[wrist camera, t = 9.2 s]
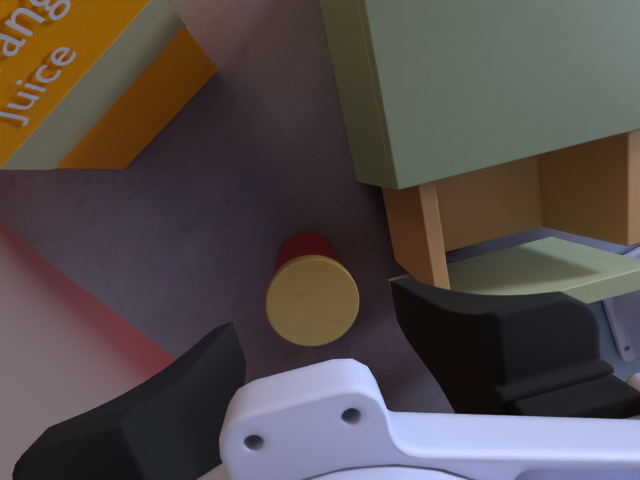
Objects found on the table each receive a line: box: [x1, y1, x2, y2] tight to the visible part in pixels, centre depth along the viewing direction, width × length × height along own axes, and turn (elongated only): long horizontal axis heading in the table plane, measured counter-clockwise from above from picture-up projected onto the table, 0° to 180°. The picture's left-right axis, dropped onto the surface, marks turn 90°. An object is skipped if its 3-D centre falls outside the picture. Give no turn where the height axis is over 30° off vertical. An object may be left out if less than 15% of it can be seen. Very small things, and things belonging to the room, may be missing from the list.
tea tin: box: [265, 232, 359, 346], centre depth 19 cm, size 5×5×7 cm
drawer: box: [381, 129, 640, 304], centre depth 18 cm, size 16×12×7 cm
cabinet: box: [319, 0, 640, 190], centre depth 15 cm, size 14×14×9 cm
